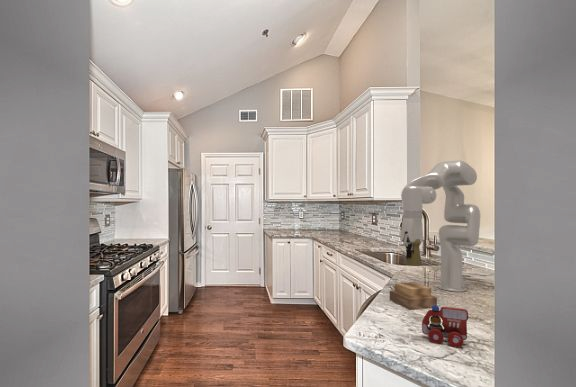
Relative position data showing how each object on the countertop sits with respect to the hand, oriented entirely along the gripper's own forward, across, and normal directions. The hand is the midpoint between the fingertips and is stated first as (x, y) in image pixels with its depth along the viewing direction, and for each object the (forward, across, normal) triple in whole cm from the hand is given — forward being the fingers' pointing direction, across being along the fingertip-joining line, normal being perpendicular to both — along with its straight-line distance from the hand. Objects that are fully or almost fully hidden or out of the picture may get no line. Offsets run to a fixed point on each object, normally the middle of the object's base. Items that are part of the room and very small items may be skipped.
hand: (412, 259), depth 130 cm
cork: (+2, 0, 0) cm, 2 cm away
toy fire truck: (+19, +27, +24) cm, 41 cm away
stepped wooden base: (+18, 0, 0) cm, 18 cm away
